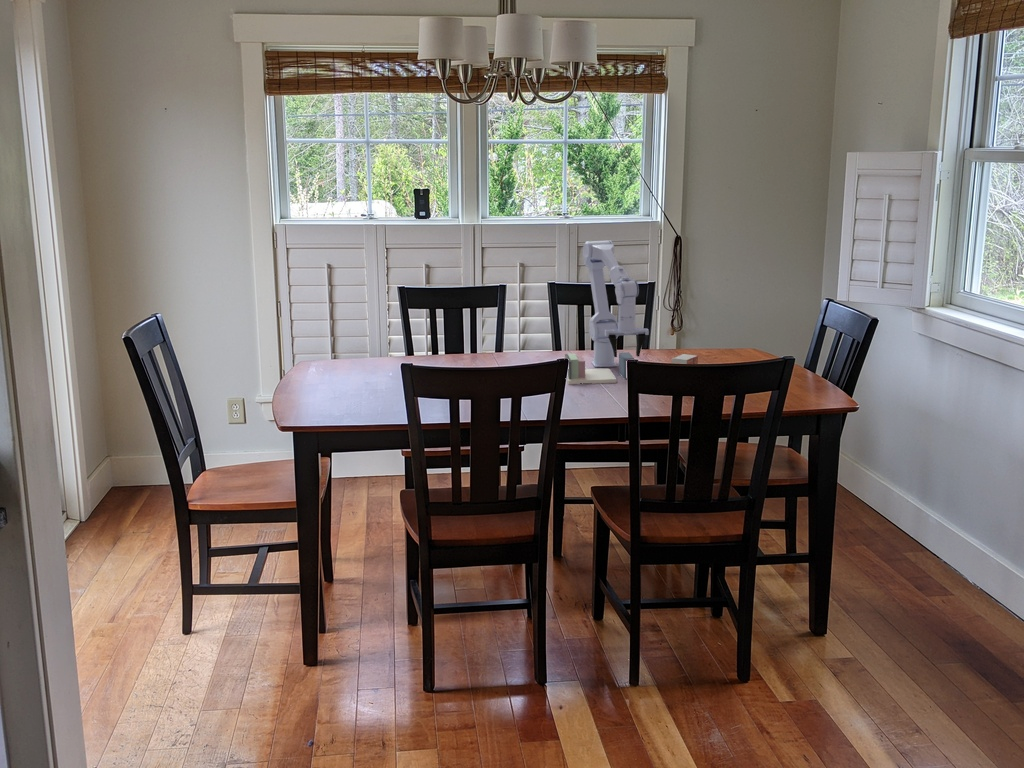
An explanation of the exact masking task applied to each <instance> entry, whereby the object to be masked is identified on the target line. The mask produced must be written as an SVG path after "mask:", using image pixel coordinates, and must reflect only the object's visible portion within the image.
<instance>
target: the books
mask: <svg viewBox="0 0 1024 768" xmlns="http://www.w3.org/2000/svg"><path fill="white" fill-rule="evenodd" d="M566 354H567V355H568V357H569V358H570V360H571V379H573V378H585V369H586V360H585V358H584V357H583V356H582V355H577V354H576V353H574V352H573V353H571V352H570V353H566Z"/></svg>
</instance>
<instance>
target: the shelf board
mask: <svg viewBox="0 0 1024 768" xmlns="http://www.w3.org/2000/svg"><path fill="white" fill-rule="evenodd" d="M617 380H618V379H617V378H616V376H615V375H614V373H613V372H612V370H611V369H610V367H609V368H607V367H606V368H585V378H573V379H569V378H568V376H567V380H566V382H567V384H568V385H584V384H583V383H592V384H611V383H612V384H617ZM580 383H582V384H580Z"/></svg>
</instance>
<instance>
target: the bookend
mask: <svg viewBox="0 0 1024 768" xmlns="http://www.w3.org/2000/svg"><path fill="white" fill-rule="evenodd" d="M567 354H568V353H565V354H564V359H565V358H567V359H569V369H568V378H569V379H571V360H570V358H569V357H568V355H567Z"/></svg>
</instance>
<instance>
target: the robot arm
mask: <svg viewBox="0 0 1024 768" xmlns="http://www.w3.org/2000/svg"><path fill="white" fill-rule="evenodd" d="M582 258H583V263H584V267H587V268H588V274H589V280H590V287H591V288H590V289H591V294H592V301H593V307H594V315H592V316H591V317H590V319H589V320H588V335H589V337H590V339H591V340H592V341H593V360H591V361H590V362H591V364H592V366H593V367H594V368H607V367H609V368H611V367H613V368H615V367H618V366H617V363H616V362H615V358H618V352H617V351H618V350H617V348H618V347H617V345H618V337H619V336H635V338H636V339H635V340H636V348H635V349H636V351H635V353H636V355H635V356H636V357H640V356H641V354H640V353H641V350H642V347H643V345H644V342H645V341H646V338H647V336H649V333H650V331H649V329H648V328H641V327H640V328H637V327H636V300H637V299H636V298H638V296H639V293H640V289H639V288H640V287H639V284H638V282H637V280H635V279H634V278H630V276H629V274H628V272H627V271H626V269H625V267H624V266H622V265H619V263H618V261H617V258H616V256H615V244H614V242H612V240H610V239H607V240H596V241H595V240H593V241H588V240H587V241H585V242H584V244H583V247H582ZM604 267H606V268H607V269H608V271H609V272H608V277H609V279H610V280H611V282H612V284H613V285H614V287H615V288H614V292H615V297H616V303H617V305H618V306H617V307H618V310H617V312H618V314H617V316H616V315H614V314H613V313H611V312H610V308H609V300H608V294H607V289H606V282H605V275H604ZM617 317H618V318H617Z"/></svg>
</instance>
